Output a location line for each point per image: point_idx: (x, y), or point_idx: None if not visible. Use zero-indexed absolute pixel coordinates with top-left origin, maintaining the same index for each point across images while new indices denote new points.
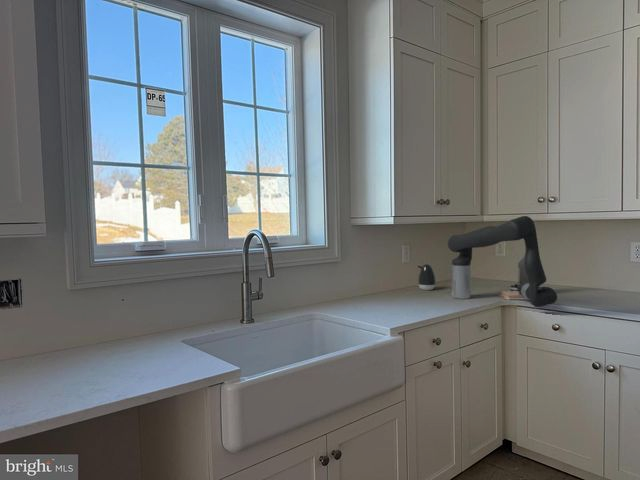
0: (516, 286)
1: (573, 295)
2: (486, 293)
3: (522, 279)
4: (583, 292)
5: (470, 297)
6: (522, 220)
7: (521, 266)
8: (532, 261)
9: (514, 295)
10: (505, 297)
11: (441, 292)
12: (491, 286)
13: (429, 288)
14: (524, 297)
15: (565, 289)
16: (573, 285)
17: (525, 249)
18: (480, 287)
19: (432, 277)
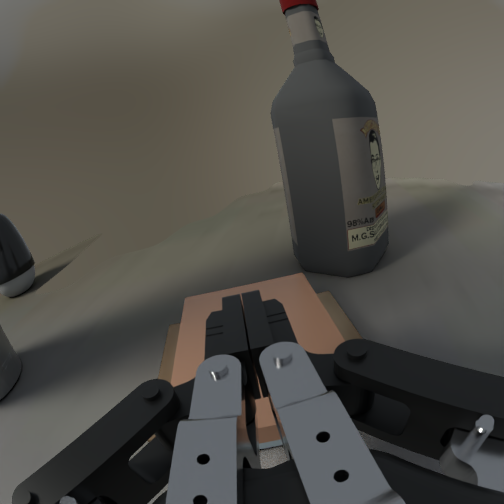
0: (170, 429)
1: (500, 239)
2: (142, 300)
3: (305, 194)
4: (489, 210)
5: (4, 394)
6: None
7: (287, 118)
8: None
9: None
10: None
11: (16, 312)
12: (220, 223)
13: (10, 293)
14: None
15: (432, 200)
16: (425, 181)
17: (291, 33)
18: (179, 238)
19: (3, 256)
